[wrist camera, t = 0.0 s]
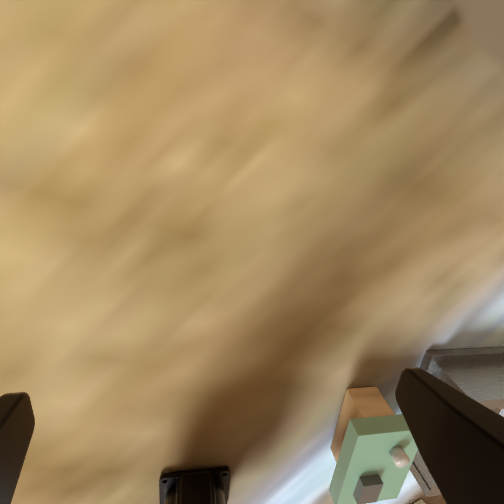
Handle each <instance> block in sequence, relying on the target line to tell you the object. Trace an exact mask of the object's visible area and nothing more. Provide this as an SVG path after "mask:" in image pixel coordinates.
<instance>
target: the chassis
mask: <svg viewBox="0 0 504 504" xmlns="http://www.w3.org/2000/svg"><path fill="white" fill-rule="evenodd" d="M420 368H421V369H423V370H425V371H426V372H428V373H430V374H432V375H433V376H435V377H437V378H438V379H440V380H442V381H443V382H445V383H447V384H448V385H450V386H452V387H454V388H455V389H457V390H459V391H460V392H462V393H464V394H465V395H467V396H469V397H470V398H472V399H474V400H476V401H477V402H479V403H481V404H482V405H484V406H486V407H487V408H489V409H491V410H492V411H494V412H496V413H498V414H499V412H500V411H501V409H503V408H504V347H489V348H470V349H450V350H431V351H426V354H425V357H424V359H423V362H422V364H421V367H420ZM410 471H411V472H412V474H413V476H414V477H415V479H416V481H417V482H418V484H419V486H420V487H421V489H422V491H423V492H424V494H425V495H426V497H432V496H438V495H442V494H441V493H440V491H439V489H438V487H437V485H436V483H435V481H434V480H433V478H432V476H431V474H430V472H429V470H428V469H427V467H426V465H425V463H424V461H423V459H422V457H421V455H420V453H419V450H417V453H416V455H415V457H414V460H413V462H412V464H411V467H410Z"/></svg>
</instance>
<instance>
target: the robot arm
mask: <svg viewBox="0 0 504 504" xmlns="http://www.w3.org/2000/svg"><path fill="white" fill-rule="evenodd" d="M395 395H396V400H397V403H398V405H399V407H400V409H401V412H402V414H403V416H404V419H405V421H406V423H407V425H408V428H409V430H410V432H411V435H412V437H413V439H414V441H415V444H416V446H417V448H418V450H419V453H420V455H421V457H422V459H423V461H424V463H425V465H426V467H427V469H428V470H429V472H430V474H431V476H432V478H433V480H434V481H435V483H436V485H437V487H438V489H439V491H440V493H441V494H442V496H443V498H444V500H445V502H446V504H504V417H503V416H501V415H499V414H498V413H496V412H494V411H492V410H491V409H489V408H487V407H486V406H484V405H482V404H481V403H479V402H477V401H476V400H474V399H472V398H470V397H469V396H467V395H465V394H464V393H462V392H460V391H459V390H457V389H455V388H454V387H452V386H450V385H448V384H447V383H445V382H443V381H442V380H440V379H438V378H437V377H435V376H433V375H432V374H430V373H428V372H426V371H425V370H423V369H421V368H406V369H404V370H403V371H402V374H401V377H400V379H399V382H398V385H397V388H396V391H395ZM34 426H35V419H34V414H33V410H32V405H31V401H30V397H29V395H28V394H27V393H25V392H19V393H7V394H4V395H2V396H1V397H0V504H11V501H12V498H13V495H14V492H15V488H16V485H17V482H18V479H19V476H20V472H21V469H22V466H23V463H24V460H25V456H26V453H27V450H28V447H29V444H30V441H31V437H32V434H33V431H34ZM229 479H230V469H229V468H228V467H219V468H211V469H202V470H193V471H185V472H176V473H167V474H163V475H161V476H160V479H159V490H160V504H227V498H228V489H229Z"/></svg>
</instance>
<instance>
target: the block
mask: <svg viewBox="0 0 504 504" xmlns="http://www.w3.org/2000/svg"><path fill="white" fill-rule="evenodd" d="M388 415H395V414H394V412H393V411H392V409H391V408H390V406H389V405H388V403H387V402H386V400H385V399H384V397H383V396H382V394H381V393H380V391H379V390H378V388H377V387H364V388H350V389H347V390H346V394H345V397H344V401H343V405H342V408H341V412H340V415H339V419H338V423H337V426H336V430H335V434H334V437H333V441H332V444H331V450H332V453H333V455H334V457H335V460H336V462H337V461H338V457H339V454H340V451H341V447H342V444H343V440H344V437H345V434H346V430H347V427H348V424H349V420H350V419H356V418H367V417H377V416H388Z"/></svg>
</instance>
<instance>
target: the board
mask: <svg viewBox="0 0 504 504" xmlns="http://www.w3.org/2000/svg"><path fill="white" fill-rule="evenodd" d="M417 450H418V448H417V446H416V444H415V441H414V439H413V437H412V435H411V432H410V430H409V428H408V425H407V423H406V421H405V419H404V416H403V414H399V415H388V416H377V417H367V418H356V419H350V420H349V424H348V427H347V430H346V434H345V437H344V440H343V444H342V447H341V451H340V454H339V457H338V461H337V464H336V468H335V471H334V474H333V478H332V481H331V484H330V488H329V490H330V493H331V496H332V498H333V501H334V504H365V503H372V502H377V501H380V500H387V499H394V498H397V497H398V494H399V492H400V490H401V487H402V485H403V483H404V480H405V478H406V476H407V474H408V471H409V469H410V467H411V464H412V462H413V460H414V457H415V455H416V453H417Z"/></svg>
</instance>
